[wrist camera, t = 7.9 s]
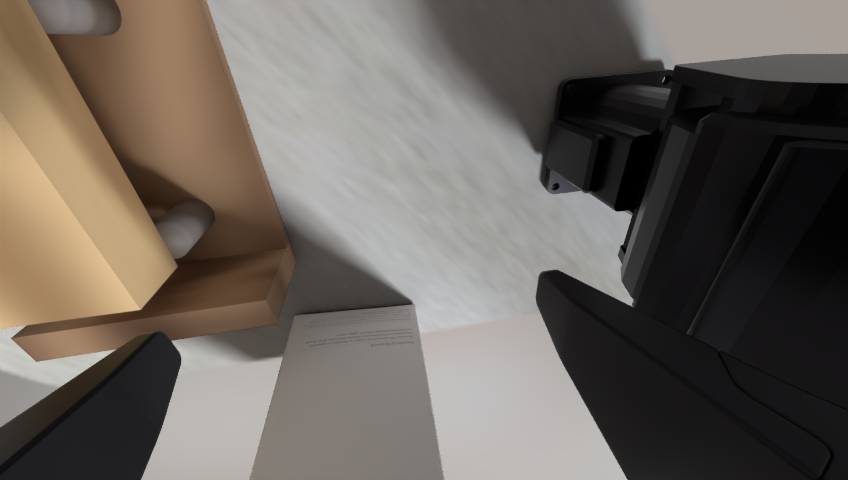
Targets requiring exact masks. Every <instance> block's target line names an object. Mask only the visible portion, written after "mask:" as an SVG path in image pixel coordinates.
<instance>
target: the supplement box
mask: <svg viewBox="0 0 848 480" xmlns="http://www.w3.org/2000/svg"><path fill="white" fill-rule="evenodd" d="M249 480H445V479H444V473H443V467H442V462H441V456H440V450H439V444H438V439H437V433H436V426H435V421H434V415H433V409H432V403H431V397H430V391H429V385H428V379H427V373H426V368H425V362H424V356H423V350H422V344H421V338H420V332H419V327H418V321H417V315H416V309H415V305H403V306H392V307H381V308H370V309H359V310H348V311H337V312H327V313H316V314H305V315H295V316H294V318H293V322H292V326H291V330H290V334H289V337H288V341H287V344H286V348H285V352H284V356H283V359H282V363H281V367H280V370H279V374H278V378H277V381H276V385H275V389H274V392H273V396H272V400H271V404H270V406H269V410H268V414H267V418H266V421H265V425H264V429H263V432H262V436H261V439H260V443H259V447H258V451H257V454H256V458H255V461H254V465H253V468H252V472H251V475H250V479H249Z"/></svg>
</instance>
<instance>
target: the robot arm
mask: <svg viewBox="0 0 848 480" xmlns="http://www.w3.org/2000/svg"><path fill="white" fill-rule="evenodd" d="M664 77H665V80H664V82H663V83H662V79H663V78H664ZM569 85H571V91H570V92H569V93H568V94H567V93H566V90H567V87H568V86H569ZM546 166H547V167H548V168H547V175H546V183H545V188H546V190H547V191H548V192H549V193H551V194H560V193H567V192H575V191H582V192H584V193H590V194H591V195H593V196H594V197H596V198H597V199H599V200H600V201H602V202H603V203H605V204H606V205H607V206H609V207H610V208H612V209H613V210H615V211H626V212H627V213H629V214H630V215H632V218H631V222H630V225H629V228H628V231H627V235H626V238H625V241H624V244H623V245H621V246H620V250H619V253H618V257H619V259H620V261H621V263H622V266H621V279H622V283H623V284H624V286H625V288H626V289H627V291H628V292H629V294H630V296H631V297H632V298H633V299H634V300H633V303H632V306H633V307H631V306H629V305H627V304H625V303H623V302H621V301H619V300H617V299H615V298H613V297H611V296H609V295H607V294H605V293H603V292H601V291H599V290H597V289H595V288H593V287H591V286H589V285H587V284H585V283H583V282H581V281H579V280H577V279H575V278H573V277H571V276H569V275H567V274H565V273H563V272H561V271H559V270H549V271H543V272H541V273H540V275H539V278H538V285H537V292H536V302H537V306H538V308H539V311H540V313H541V315H542V318H543V320H544V322H545V325H546V327H547V329H548V332H549V334H550V336H551V339H552V341H553V343H554V346H555V348H556V351H557V353H558V355H559V357H560V359H561V361H562V363H563V365H564V367H565V369H566V370H567V372H568V374H569V376H570V377H571V379H572V381H573V383H574V385H575V386H576V388H577V390H578V392H579V394H580V395H581V397H582V399H583V401H584V403H585V404H586V406H587V408H588V409H589V411H590V413H591V415H592V417H593V419H594V421H595V422H596V424H597V426H598V428H599V429H600V431H601V433H602V434H603V437H604V438H605V440H606V442H607V444H608V445H609V447H610V449H611V451H612V452H613V454H614V456H615V458H616V460H617V462H618V463H619V465H620V467H621V469H622V471H623V472H624V474H625V476H626V478H627V479H628V480H848V54H786V55H785V54H784V55H772V56H763V57H751V58H741V59H731V60H720V61H710V62H700V63H689V64H679V65H675V67H674V70H666V69H661V70H651V71H641V72H631V73H621V74H610V75H600V76H590V77H580V78H570V79H566V80H564V81H563V82H562V83H561V84H560V86H559V89H558V95H557V102H556V109H555V117H554V121H553V122H552V124H551V128H550V136H549V144H548V151H547V159H546ZM554 183H557V184H556V186H555V187H554V188H552V186H553V184H554ZM180 366H181V356H180V353H179V351H178V350H177V349H176V347H175V346H174V344H173V343H172V342H171V340H170V339H169V337H168V336H167V335H166V334H165V333H164V332H162V331H154V332H148V333H143V334H140V335H138V336H136V337H134V338H133V339H131V340H130V341H128V342H127V343H125V344H124V345H123V346H121V347H120V348H118V349H117V350H115V351H114V352H112V353H111V354H109V355H108V356H106V357H105V358H103V359H102V360H100V361H99V362H97V363H96V364H94V365H93V366H91V367H90V368H88V369H87V370H85V371H84V372H82V373H81V374H79V375H78V376H76V377H75V378H73V379H72V380H70V381H69V382H67V383H66V384H64V385H63V386H61V387H60V388H58V389H57V390H55V391H54V392H52V393H51V394H50V395H48V396H47V397H45V398H44V399H42V400H41V401H39V402H38V403H36V404H35V405H33V406H32V407H30V408H29V409H27V410H26V411H24V412H23V413H21V414H20V415H18V416H17V417H15V418H14V419H12V420H11V421H9V422H8V423H6V424H5V425H3V426H2V427H0V480H141V478H142V476H143V474H144V471H145V469H146V466H147V464H148V461H149V459H150V456H151V454H152V451H153V449H154V447H155V444H156V442H157V439H158V436H159V434H160V431H161V428H162V425H163V422H164V419H165V416H166V412H167V409H168V406H169V402H170V399H171V396H172V392H173V389H174V386H175V382H176V379H177V376H178V372H179V369H180Z"/></svg>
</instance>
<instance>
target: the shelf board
mask: <svg viewBox="0 0 848 480" xmlns="http://www.w3.org/2000/svg"><path fill="white" fill-rule="evenodd" d="M177 267H178V266H177V264H176V262H175V260H174V258H173V257H172V255H171V253H170V251H169V250H168V248H167V246H166V244H165V243H164V241H163V239H162V237H161V236H160V234H159V232H158V230H157V228H156V227H155V225H154V223H153V221H152V220H151V218H150V216H149V214H148V213H147V211H146V209H145V207H144V205H143V204H142V202H141V200H140V198H139V197H138V195H137V193H136V191H135V190H134V188H133V186H132V184H131V183H130V181H129V179H128V177H127V175H126V174H125V172H124V170H123V168H122V167H121V165H120V163H119V161H118V160H117V158H116V156H115V154H114V153H113V151H112V149H111V147H110V145H109V144H108V142H107V140H106V138H105V137H104V135H103V133H102V131H101V130H100V128H99V126H98V124H97V122H96V121H95V119H94V117H93V115H92V114H91V112H90V110H89V108H88V107H87V105H86V103H85V101H84V100H83V98H82V96H81V94H80V92H79V91H78V89H77V87H76V85H75V84H74V82H73V80H72V78H71V77H70V75H69V73H68V71H67V70H66V68H65V66H64V64H63V62H62V61H61V59H60V57H59V55H58V54H57V52H56V50H55V48H54V47H53V45H52V43H51V41H50V39H49V38H48V36H47V34H46V32H45V31H44V29H43V27H42V25H41V24H40V22H39V20H38V18H37V17H36V15H35V13H34V11H33V9H32V8H31V6H30V4H29V2H28V1H27V0H0V327H1V328H2V329H3V328H10V327H17V326H25V325H32V324H40V323H47V322H55V321H62V320H69V319H77V318H84V317H92V316H99V315H107V314H114V313H122V312H129V311H136V310H141V309H142V308H143V307H144V305H145V304H146V303H147V302H148V301H149V300H150V298H151V297H152V296H153V295H154V294H155V293H156V291H157V290H158V289H159V288H160V287H161V286H162V284H163V283H164V282H165V281H166V280H167V279H168V277H169V276H170V275H171V274H172V273H173V272H174V270H175V269H176V268H177Z"/></svg>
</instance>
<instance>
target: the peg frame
mask: <svg viewBox="0 0 848 480" xmlns="http://www.w3.org/2000/svg"><path fill="white" fill-rule="evenodd" d="M27 1H28V2H29V4H30V6H31V8H32V9H33V11H34V13H35V15H36V17H37V18H38V20H39V22H40V24H41V25H42V27H43V29H44V31H45V32H46V34H47V36H48V38H49V39H50V41H51V43H52V45H53V47H54V48H55V50H56V52H57V54H58V55H59V57H60V59H61V61H62V62H63V64H64V66H65V68H66V70H67V71H68V73H69V75H70V77H71V78H72V80H73V82H74V84H75V85H76V87H77V89H78V91H79V92H80V94H81V96H82V98H83V100H84V101H85V103H86V105H87V107H88V108H89V110H90V112H91V114H92V115H93V117H94V119H95V121H96V122H97V124H98V126H99V128H100V130H101V131H102V133H103V135H104V137H105V138H106V140H107V142H108V144H109V145H110V147H111V149H112V151H113V153H114V154H115V156H116V158H117V160H118V161H119V163H120V165H121V167H122V168H123V170H124V172H125V174H126V175H127V177H128V179H129V181H130V183H131V184H132V186H133V188H134V190H135V191H136V193H137V195H138V197H139V198H140V200H141V202H142V204H143V205H144V207H145V209H146V211H147V213H148V214H149V216H150V218H151V220H152V221H153V223H154V225H155V227H156V228H157V230H158V232H159V234H160V236H161V237H162V239H163V241H164V243H165V244H166V246H167V248H168V250H169V251H170V253H171V255H172V257H173V258H174V260H175V262H176V264H177V266H178V267H177V268H176V269H175V270H174V272H173V273H172V274H171V275H170V276H169V277H168V279H167V280H166V281H165V282H164V283H163V284H162V286H161V287H160V288H159V289H158V290H157V291H156V293H155V294H154V295H153V296H152V297H151V298H150V300H149V301H148V302H147V303H146V304H145V305H144V307H143V308H142V309H141V310H136V311H129V312H122V313H114V314H107V315H99V316H92V317H84V318H77V319H69V320H62V321H55V322H47V323H40V324H32V325H27V326H25V327H24V328H23V329H22V330H21V331H19V332H18V333H17V334H16V335H15V336H13V337H12V338H11V339H12V340H13V341H14V342H15V343H17V344H18V345H19V346H20V347H21V348H22V349H23V350H24V351H25V352H26V353H27V354H29V355H30V356H31V357H32V358H33V359H34V360H35V361H36V362H38V361H44V360H50V359H57V358H63V357H70V356H76V355H82V354H89V353H95V352H101V351H108V350H114V349H118V348H120V347H121V346H123V345H124V344H125V343H127V342H128V341H130V340H131V339H133V338H134V337H136V336H138V335H140V334H143V333H148V332H154V331H162V332H164V333H165V334H166V335H167V336H168V337H169V339H170V340H171V341H172V340H178V339H184V338H191V337H197V336H204V335H210V334H216V333H223V332H229V331H236V330H242V329H248V328H255V327H261V326H268V325H274V324H276V323H277V320H278V317H279V314H280V311H281V308H282V305H283V302H284V299H285V296H286V293H287V290H288V287H289V284H290V281H291V278H292V275H293V272H294V269H295V265H296V260H295V257H294V254H293V251H292V248H291V245H290V242H289V239H288V236H287V234H286V231H285V228H284V225H283V222H282V219H281V216H280V213H279V210H278V207H277V205H276V202H275V199H274V196H273V193H272V190H271V187H270V184H269V181H268V179H267V176H266V173H265V170H264V167H263V164H262V161H261V158H260V155H259V153H258V150H257V147H256V144H255V141H254V138H253V135H252V132H251V129H250V127H249V124H248V121H247V118H246V115H245V112H244V109H243V106H242V103H241V100H240V98H239V95H238V92H237V89H236V86H235V83H234V80H233V77H232V74H231V72H230V69H229V66H228V63H227V60H226V57H225V54H224V51H223V48H222V46H221V43H220V40H219V37H218V34H217V31H216V28H215V25H214V22H213V20H212V17H211V14H210V11H209V8H208V5H207V2H206V0H27Z"/></svg>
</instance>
